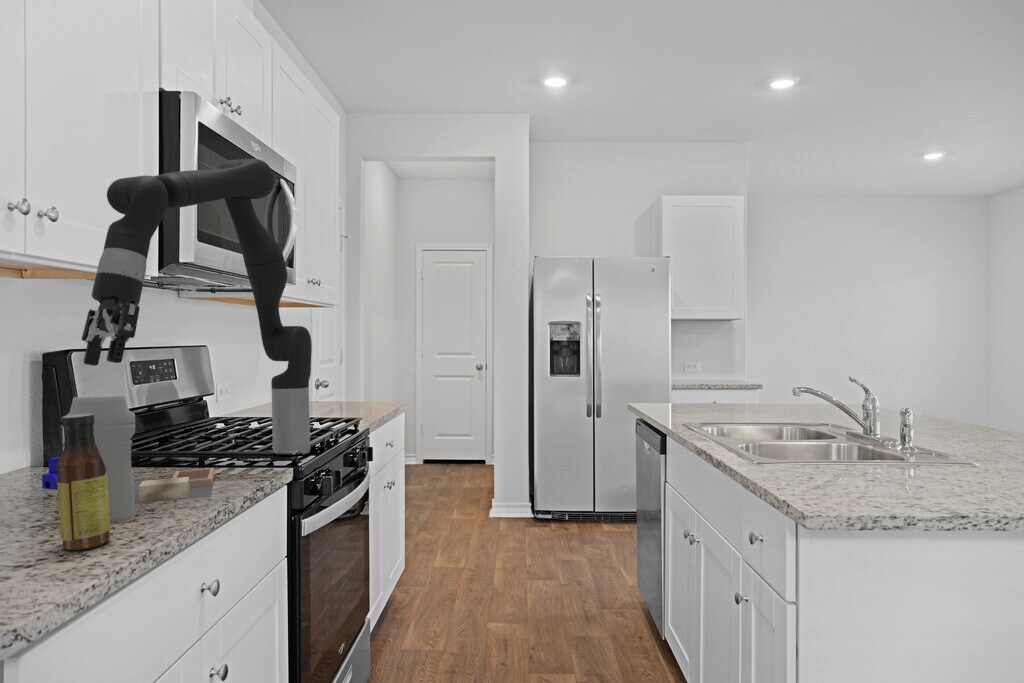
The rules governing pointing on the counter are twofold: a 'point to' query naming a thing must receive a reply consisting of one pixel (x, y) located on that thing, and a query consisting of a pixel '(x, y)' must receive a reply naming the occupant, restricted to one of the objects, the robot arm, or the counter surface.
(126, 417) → the tall pale column
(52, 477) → the cable clip
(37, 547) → the counter surface
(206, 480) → the frame
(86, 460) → the sauce bottle
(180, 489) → the beige rectangular prism
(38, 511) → the counter surface
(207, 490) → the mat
